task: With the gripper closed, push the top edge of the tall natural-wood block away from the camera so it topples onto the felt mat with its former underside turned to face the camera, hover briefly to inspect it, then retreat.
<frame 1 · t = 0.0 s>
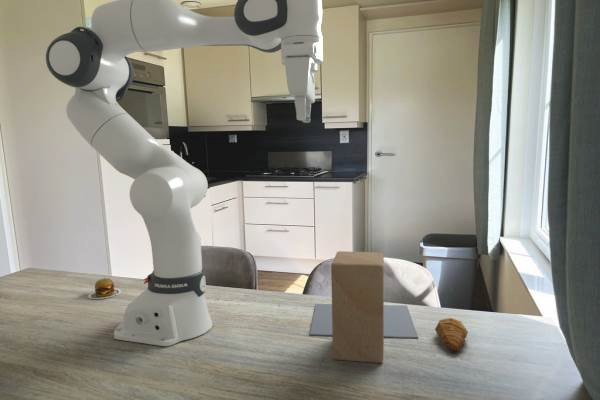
hand: (303, 121, 90), 48 cm above the table, fingers open, 8 cm apart
felt mat: (361, 319, 102), on the table
croissant: (450, 340, 91), on the table
hamburger: (104, 297, 125), on the table
wooden block: (359, 351, 87), on the table
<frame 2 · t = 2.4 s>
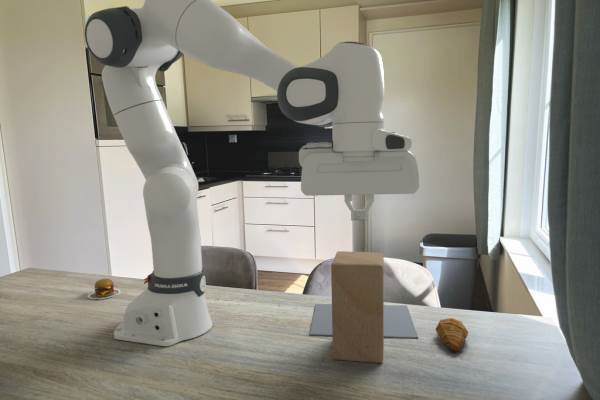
hand: (359, 219, 73), 30 cm above the table, fingers closed
nothing on the table moved.
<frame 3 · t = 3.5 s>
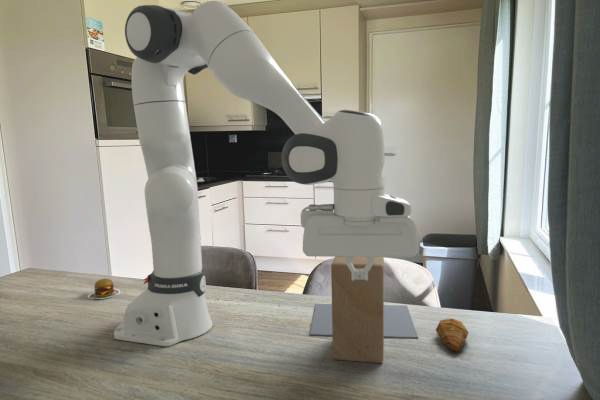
hand: (359, 279, 75), 19 cm above the table, fingers closed
nothing on the table moved.
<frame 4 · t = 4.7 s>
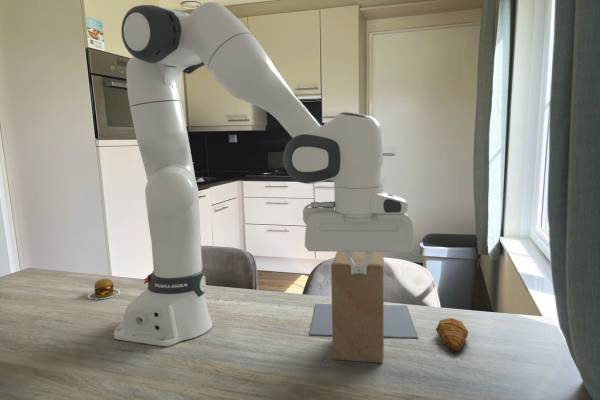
hand: (358, 273, 79), 18 cm above the table, fingers closed
wooden block: (359, 350, 87), on the table, touching gripper
everything else where it was.
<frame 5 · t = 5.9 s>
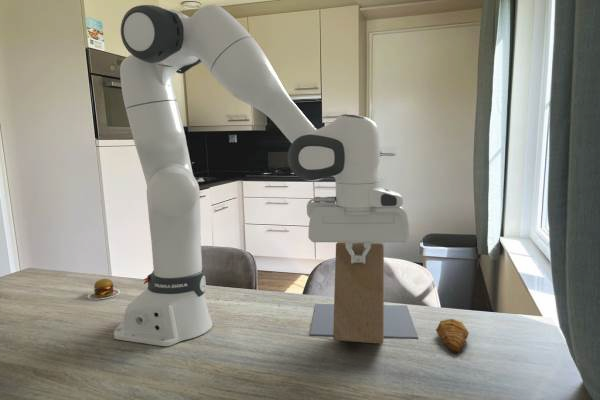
hand: (358, 262, 86), 19 cm above the table, fingers closed
wooden block: (359, 341, 87), point 2 cm above the table
everything else where it was.
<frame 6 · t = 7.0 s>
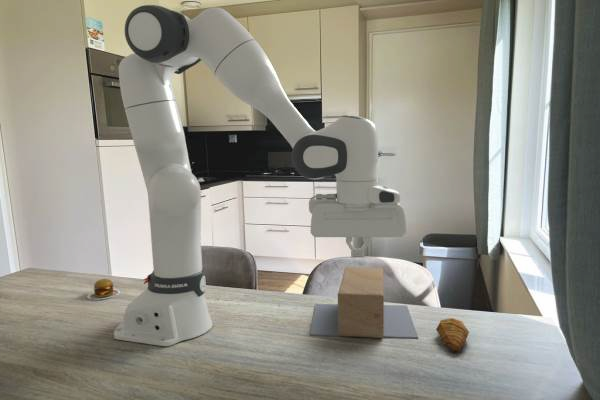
hand: (357, 256, 90), 19 cm above the table, fingers closed
wooden block: (360, 316, 91), point 5 cm above the table, touching felt mat
everything else where it was.
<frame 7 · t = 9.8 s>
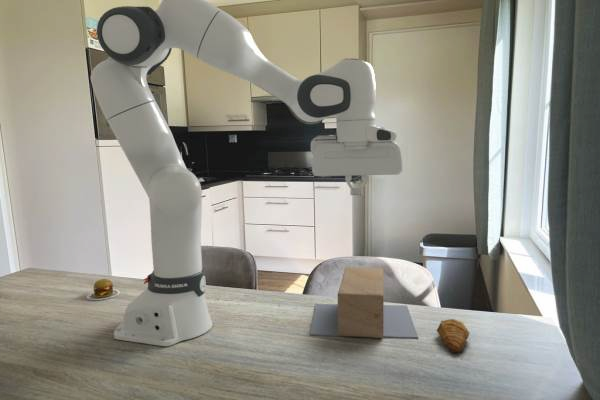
hand: (356, 195, 96), 31 cm above the table, fingers closed
nothing on the table moved.
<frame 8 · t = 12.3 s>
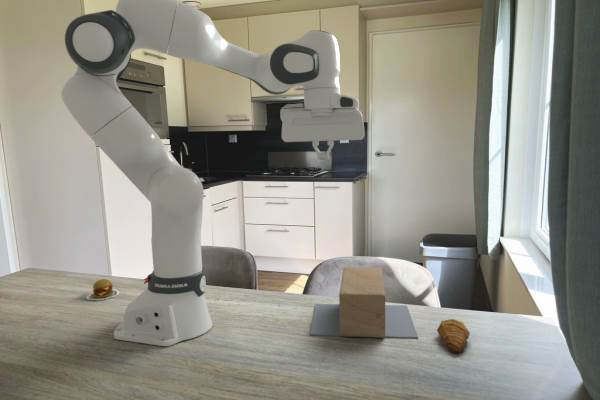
hand: (323, 159, 103), 39 cm above the table, fingers closed
nothing on the table moved.
at the end: wooden block tilted 90°; wooden block inside the target area (5.7 cm from its centre), point 5.3 cm above the table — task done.
